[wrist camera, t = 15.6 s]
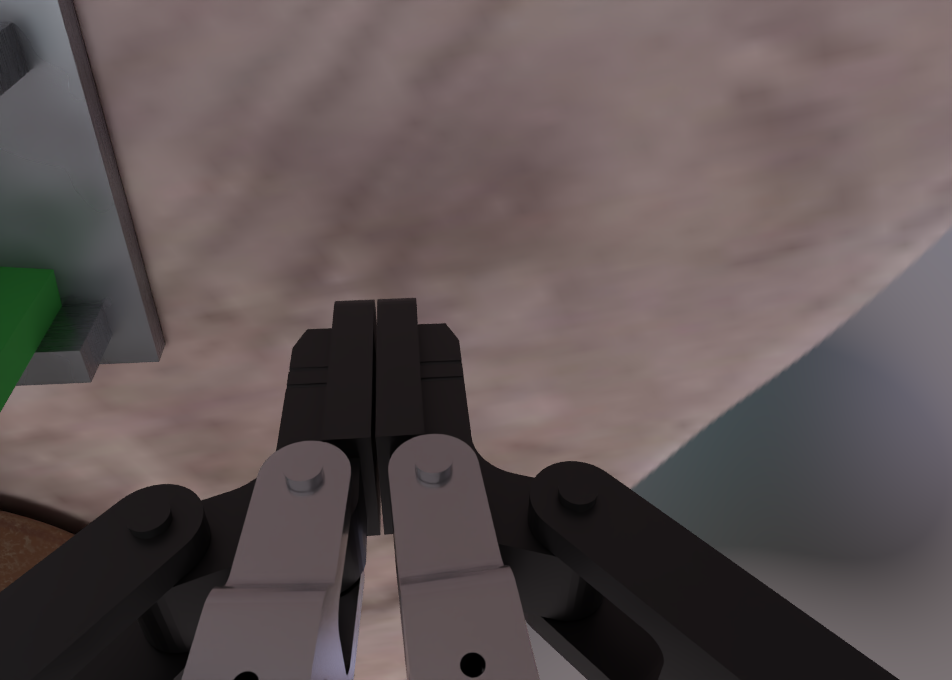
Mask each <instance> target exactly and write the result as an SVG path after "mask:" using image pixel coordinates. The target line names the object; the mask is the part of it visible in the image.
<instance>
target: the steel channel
mask: <svg viewBox="0 0 952 680" xmlns="http://www.w3.org/2000/svg"><path fill="white" fill-rule="evenodd" d="M0 267H16V268H35V269H53V270H54V274H55V278H56V283H57V287H58V291H59V295H60V300H61V304H62V307H61V308H60V310H59V312H58V313H57V315H56V317H55V319H54V320H53V322H52V324H51V326H50V327H49V329H48V331H47V332H46V334H45V336H44V338H43V339H42V341H41V343H40V345H39V346H38V348H37V350H36V351H35V353H34V355H33V357H32V358H31V360H30V362H29V364H28V365H27V367H26V369H25V370H24V372H23V374H22V376H21V377H20V379H19V381H18V383H17V384H16V386H21V385H43V384H65V383H87V382H92V379H93V377H94V375H95V373H96V371H97V368H98V366H99V364H115V363H138V362H159V361H160V358H161V355H162V352H163V349H164V346H165V342H164V338H163V334H162V331H161V327H160V323H159V320H158V316H157V312H156V308H155V305H154V301H153V297H152V294H151V290H150V286H149V282H148V279H147V275H146V271H145V268H144V264H143V260H142V257H141V253H140V249H139V245H138V242H137V238H136V234H135V231H134V227H133V223H132V220H131V216H130V212H129V208H128V205H127V201H126V197H125V194H124V190H123V186H122V183H121V179H120V175H119V171H118V168H117V164H116V160H115V157H114V153H113V149H112V146H111V142H110V138H109V134H108V131H107V127H106V123H105V120H104V116H103V112H102V109H101V105H100V101H99V97H98V94H97V90H96V86H95V83H94V79H93V75H92V72H91V68H90V64H89V60H88V57H87V53H86V49H85V46H84V42H83V38H82V35H81V31H80V27H79V23H78V20H77V16H76V12H75V9H74V5H73V1H72V0H0Z"/></svg>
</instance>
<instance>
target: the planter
mask: <svg viewBox="0 0 952 680" xmlns="http://www.w3.org/2000/svg"><path fill="white" fill-rule="evenodd" d="M74 535H75V534H72V533H70V532H67V531H65V530H62V529H60V528H57V527H55V526H52V525H49V524H46V523H43V522H40V521H37V520H34V519H31V518H28V517H24V516H21V515H17V514H13V513H9V512H5V511H1V510H0V592H1V591H2V590H4V589H5V588H6V587H7V586H9V585H10V584H11V583H13V582H14V581H15V580H17V579H18V578H19V577H21V576H22V575H23V574H24V573H26V572H27V571H28V570H30V569H31V568H32V567H34V566H35V565H36V564H38V563H39V562H40V561H42V560H43V559H44V558H45V557H47V556H48V555H49V554H51V553H52V552H53V551H55V550H56V549H57V548H59V547H60V546H61V545H62V544H64V543H65V542H66V541H68V540H69V539H70V538H72V537H73V536H74Z"/></svg>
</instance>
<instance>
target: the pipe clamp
mask: <svg viewBox="0 0 952 680" xmlns="http://www.w3.org/2000/svg"><path fill="white" fill-rule="evenodd" d="M61 307H62V304H61V300H60V295H59V291H58V287H57V283H56V278H55V274H54V270H53V269H35V268H16V267H0V412H1V410H2V408H3V407H4V405H5V403H6V402H7V400H8V398H9V396H10V395H11V393H12V391H13V389H14V388H15V386H16V384H17V383H18V381H19V379H20V377H21V376H22V374H23V372H24V370H25V369H26V367H27V365H28V364H29V362H30V360H31V358H32V357H33V355H34V353H35V351H36V350H37V348H38V346H39V345H40V343H41V341H42V339H43V338H44V336H45V334H46V332H47V331H48V329H49V327H50V326H51V324H52V322H53V320H54V319H55V317H56V315H57V313H58V312H59V310H60V308H61Z"/></svg>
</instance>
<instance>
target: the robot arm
mask: <svg viewBox="0 0 952 680" xmlns="http://www.w3.org/2000/svg"><path fill="white" fill-rule="evenodd" d="M381 503H382V514H383V524H384V534H393V536H394V549H395V562H396V574H397V585H398V595H399V605H400V614H401V624H402V634H403V644H404V654H405V664H406V674H407V680H540V678H539V674H538V670H537V666H536V662H535V658H534V654H533V650H532V646H531V642H530V638H529V634H528V630H527V626H526V622H527V623H528V624H529V625H530V626H531V627H532V629H534V630H535V631H536V632H537V633H538V634H539V635H540V636H541V637H542V638H543V639H544V640H545V641H547V642H548V643H549V644H550V645H551V646H552V647H553V648H554V649H555V650H556V651H557V652H558V653H559V654H560V655H562V656H563V657H564V658H565V659H566V660H567V661H568V662H569V663H570V664H571V665H572V666H573V667H575V668H576V669H577V670H578V671H579V672H580V673H581V674H582V675H583V676H584V677H585V678H586V679H587V680H899V679H898V678H896V677H895V676H893V675H892V674H891V673H889V672H888V671H886V670H885V669H883V668H882V667H881V666H879V665H878V664H877V663H875V662H873V661H872V660H871V659H869V658H868V657H867V656H865V655H864V654H862V653H861V652H860V651H858V650H856V649H855V648H854V647H852V646H851V645H850V644H848V643H847V642H845V641H844V640H842V639H841V638H840V637H838V636H837V635H836V634H834V633H833V632H831V631H830V630H828V629H827V628H826V627H824V626H823V625H821V624H820V623H819V622H817V621H816V620H814V619H813V618H812V617H810V616H809V615H807V614H806V613H804V612H803V611H802V610H800V609H799V608H797V607H796V606H795V605H793V604H792V603H790V602H789V601H788V600H786V599H784V598H783V597H782V596H780V595H779V594H778V593H776V592H775V591H773V590H772V589H771V588H769V587H768V586H766V585H765V584H763V583H762V582H761V581H759V580H758V579H756V578H755V577H754V576H752V575H751V574H749V573H748V572H747V571H745V570H744V569H742V568H741V567H739V566H738V565H737V564H735V563H734V562H732V561H731V560H730V559H728V558H727V557H725V556H724V555H723V554H721V553H720V552H718V551H717V550H715V549H714V548H713V547H711V546H710V545H708V544H707V543H706V542H704V541H703V540H701V539H700V538H698V537H697V536H696V535H694V534H693V533H691V532H690V531H689V530H687V529H686V528H684V527H683V526H682V525H680V524H679V523H677V522H676V521H675V520H673V519H672V518H670V517H669V516H667V515H666V514H665V513H663V512H662V511H660V510H659V509H658V508H656V507H655V506H653V505H652V504H650V503H649V502H648V501H646V500H645V499H643V498H642V497H641V496H639V495H638V494H636V493H635V492H634V491H632V490H631V489H629V488H628V487H627V486H625V485H624V484H622V483H621V482H619V481H618V480H617V479H615V478H614V477H612V476H611V475H610V474H608V473H607V472H605V471H604V470H602V469H600V468H598V467H596V466H594V465H591V464H587V463H583V462H577V461H566V462H560V463H556V464H553V465H550V466H548V467H546V468H545V469H543V470H542V471H541V472H540V473H538V474H537V476H536V477H535V478H533V477H528V476H523V475H519V474H514V473H510V472H506V471H504V470H501V469H499V468H497V467H495V466H493V465H491V464H490V463H488V462H487V461H486V460H484V459H483V458H482V457H481V455H480V454H479V453H478V452H477V450H476V449H475V447H474V444H473V442H472V437H471V430H470V422H469V415H468V407H467V399H466V391H465V384H464V377H463V368H462V363H461V353H460V345H459V340H458V339H457V337H456V336H455V335H454V333H453V332H452V331H451V330H450V328H449V327H448V326H447V325H446V323H443V324H420V325H418V321H417V304H416V298H401V299H378V301H377V320H376V307H375V300H354V301H335V304H334V313H333V324H332V328H329V329H307V330H306V332H305V333H304V334H303V335H302V337H301V338H300V339H299V340H298V342H297V343H296V344H295V346H294V347H293V349H292V355H291V362H290V372H289V374H288V380H287V389H286V393H285V399H284V405H283V411H282V418H281V424H280V430H279V436H278V443H277V449H276V452H274V453H273V454H272V455H271V456H270V457H268V459H267V460H266V461H265V462H264V463H263V465H262V466H261V468H260V470H259V473H258V476H257V478H256V479H254V480H253V481H251V482H249V483H248V484H246V485H244V486H242V487H240V488H238V489H235V490H232V491H230V492H226V493H223V494H220V495H217V496H214V497H211V498H208V499H205V500H200V499H199V497H198V496H197V495H196V494H195V493H194V492H193V491H192V490H190V489H188V488H186V487H183V486H179V485H173V484H160V485H154V486H150V487H146V488H143V489H140V490H138V491H135V492H133V493H131V494H129V495H128V496H126V497H125V498H123V499H122V500H120V501H119V502H117V503H116V504H115V505H114V506H112V507H111V508H110V509H108V510H107V511H106V512H104V513H103V514H102V515H100V516H99V517H98V518H96V519H95V520H94V521H93V522H91V523H90V524H89V525H87V526H86V527H85V528H83V529H82V530H81V531H79V532H78V533H77V534H76V535H74V536H73V537H72V538H70V539H69V540H68V541H66V542H65V543H64V544H62V545H61V546H60V547H59V548H57V549H56V550H55V551H53V552H52V553H51V554H49V555H48V556H47V557H45V558H44V559H43V560H42V561H40V562H39V563H38V564H36V565H35V566H34V567H32V568H31V569H30V570H28V571H27V572H26V573H24V574H23V575H22V576H21V577H19V578H18V579H17V580H15V581H14V582H13V583H11V584H10V585H9V586H7V587H6V588H5V589H4V590H2V591H1V592H0V680H353V679H354V670H355V661H356V652H357V643H358V634H359V625H360V616H361V607H362V598H363V589H364V567H365V564H366V545H367V536H373V535H380V519H381ZM525 620H526V621H525Z"/></svg>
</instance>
